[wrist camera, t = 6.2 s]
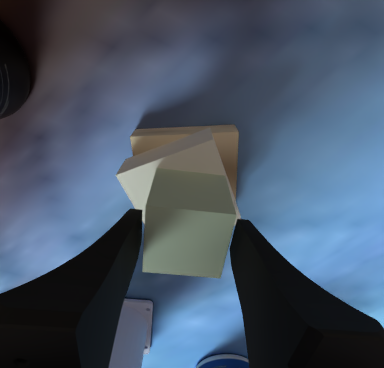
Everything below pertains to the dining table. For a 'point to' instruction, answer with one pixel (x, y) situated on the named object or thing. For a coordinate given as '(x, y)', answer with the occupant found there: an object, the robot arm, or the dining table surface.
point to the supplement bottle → (12, 73)
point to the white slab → (171, 165)
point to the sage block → (187, 224)
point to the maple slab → (222, 134)
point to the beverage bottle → (224, 361)
